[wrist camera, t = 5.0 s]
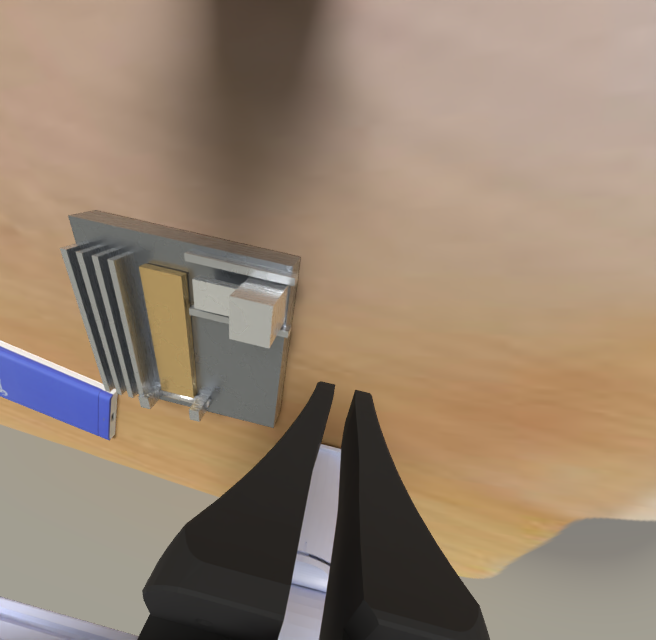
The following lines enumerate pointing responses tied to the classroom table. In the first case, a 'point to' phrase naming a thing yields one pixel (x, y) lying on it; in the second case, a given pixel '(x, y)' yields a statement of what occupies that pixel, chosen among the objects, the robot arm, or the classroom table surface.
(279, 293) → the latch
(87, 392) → the hard drive
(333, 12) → the classroom table surface
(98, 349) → the grey slotted fixture base
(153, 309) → the tan rectangular plate
